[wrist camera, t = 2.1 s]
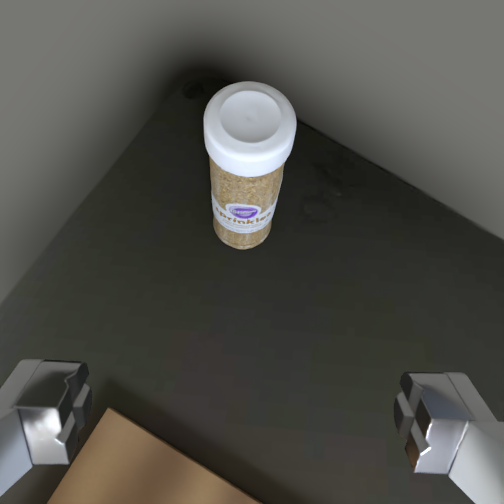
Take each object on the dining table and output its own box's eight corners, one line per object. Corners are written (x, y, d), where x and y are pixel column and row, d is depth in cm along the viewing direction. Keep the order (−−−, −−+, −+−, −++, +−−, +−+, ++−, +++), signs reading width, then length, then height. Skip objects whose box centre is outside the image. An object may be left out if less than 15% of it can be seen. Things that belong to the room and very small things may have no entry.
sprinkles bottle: (219, 255, 32) (211, 165, 19) (208, 201, 33) (194, 84, 21) (277, 244, 33) (308, 149, 20) (265, 192, 34) (285, 71, 21)
